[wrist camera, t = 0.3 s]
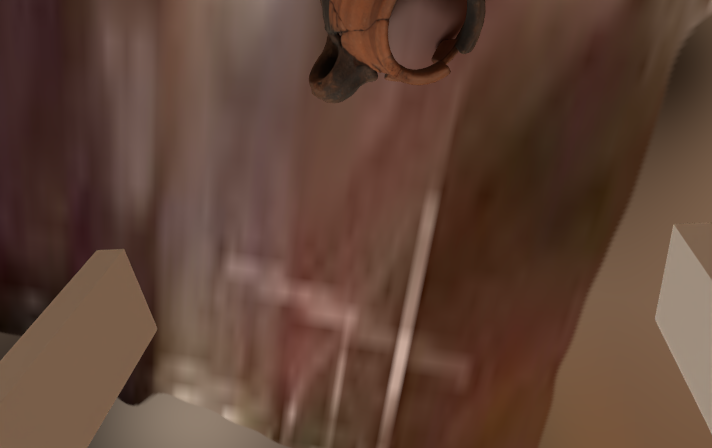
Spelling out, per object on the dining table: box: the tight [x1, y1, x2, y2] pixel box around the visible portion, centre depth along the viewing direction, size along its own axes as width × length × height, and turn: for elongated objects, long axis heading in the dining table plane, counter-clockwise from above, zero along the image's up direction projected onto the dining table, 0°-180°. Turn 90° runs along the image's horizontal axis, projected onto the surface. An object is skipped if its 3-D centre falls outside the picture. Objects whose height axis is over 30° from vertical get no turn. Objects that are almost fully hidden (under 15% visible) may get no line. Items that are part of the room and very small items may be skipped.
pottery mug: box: [309, 0, 485, 103], centre depth 35 cm, size 12×10×8 cm
